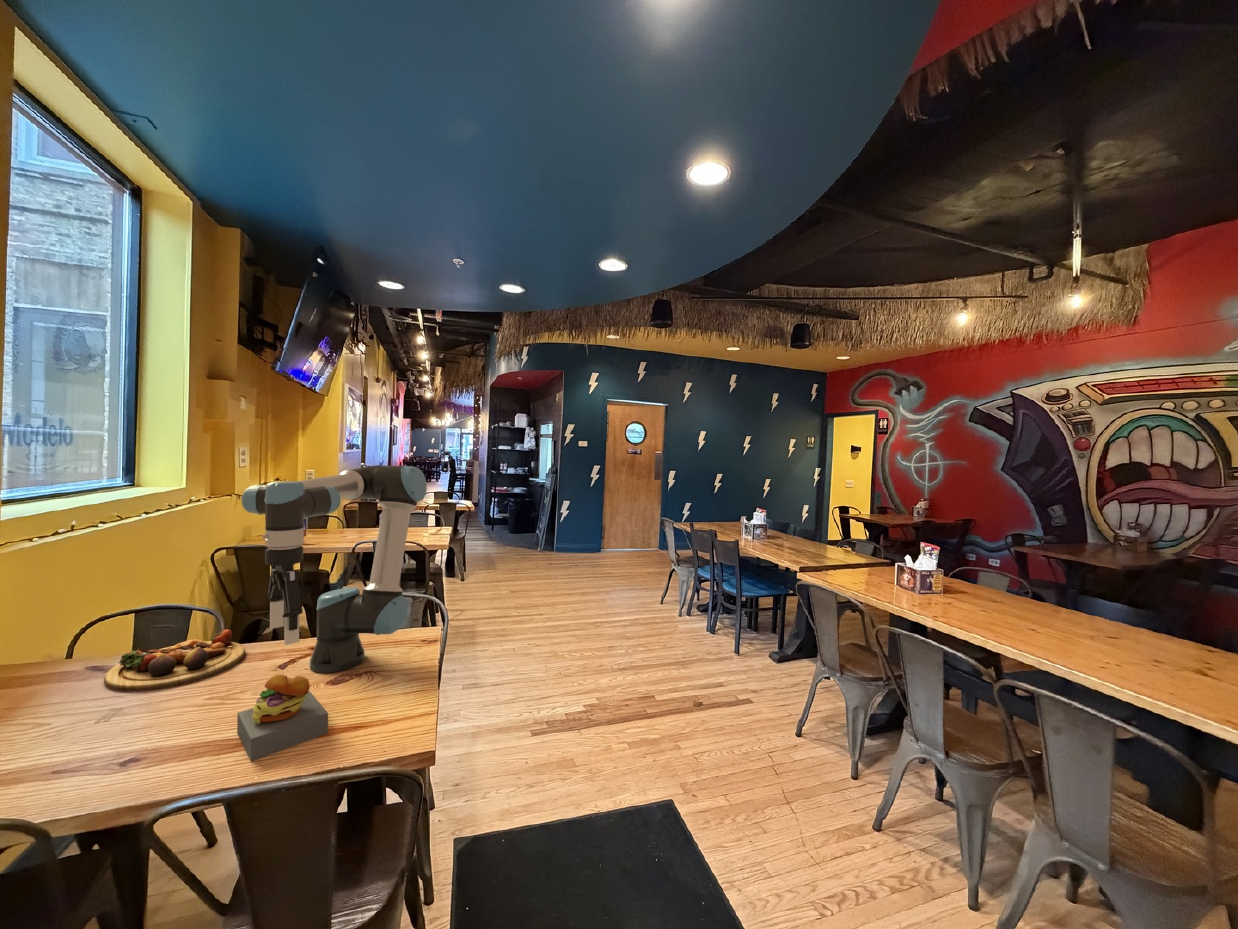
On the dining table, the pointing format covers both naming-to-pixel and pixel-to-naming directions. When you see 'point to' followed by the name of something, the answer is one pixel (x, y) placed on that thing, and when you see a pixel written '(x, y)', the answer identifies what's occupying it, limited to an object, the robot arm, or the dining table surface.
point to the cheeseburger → (280, 698)
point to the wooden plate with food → (174, 664)
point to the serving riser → (282, 729)
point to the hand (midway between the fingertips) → (284, 635)
